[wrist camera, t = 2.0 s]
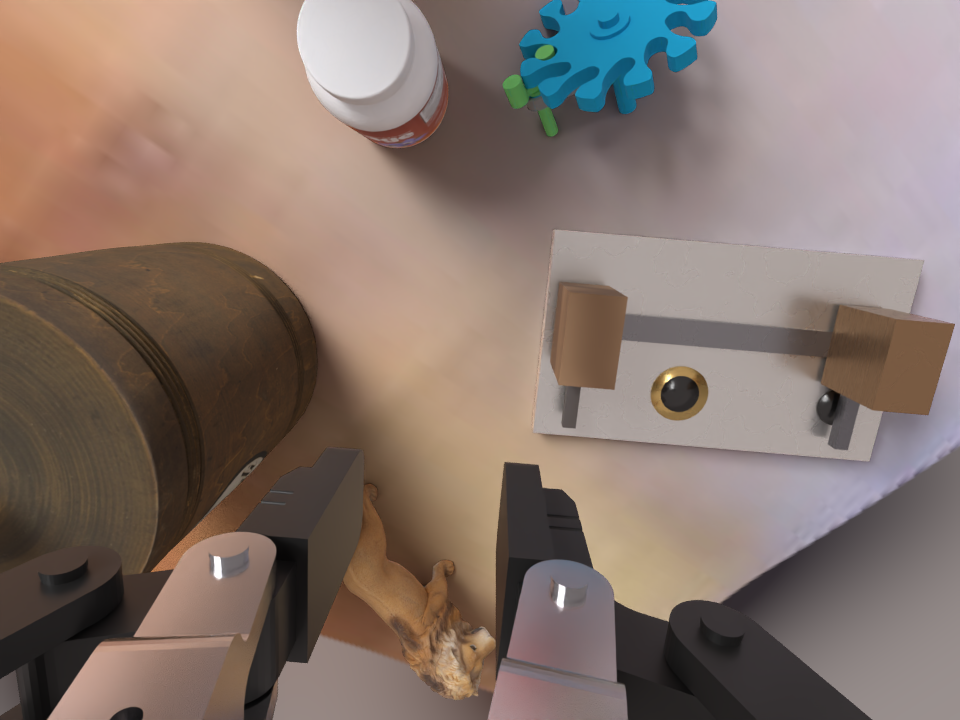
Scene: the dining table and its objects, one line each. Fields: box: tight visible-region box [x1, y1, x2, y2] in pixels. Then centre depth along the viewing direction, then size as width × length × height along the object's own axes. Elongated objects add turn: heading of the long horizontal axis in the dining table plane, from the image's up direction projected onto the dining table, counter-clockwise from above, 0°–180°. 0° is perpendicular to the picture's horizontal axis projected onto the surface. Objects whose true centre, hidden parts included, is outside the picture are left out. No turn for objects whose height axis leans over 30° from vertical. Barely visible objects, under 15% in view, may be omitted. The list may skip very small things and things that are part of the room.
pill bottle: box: [297, 0, 448, 148], centre depth 28 cm, size 6×6×11 cm
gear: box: [503, 0, 717, 137], centre depth 31 cm, size 11×6×10 cm
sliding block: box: [550, 282, 628, 429], centre depth 32 cm, size 3×9×5 cm, turn 175°
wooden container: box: [0, 242, 317, 575], centre depth 27 cm, size 15×15×22 cm
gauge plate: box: [532, 229, 955, 461], centre depth 33 cm, size 22×13×7 cm, turn 85°
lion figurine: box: [343, 484, 496, 700], centre depth 37 cm, size 15×5×9 cm, turn 50°
